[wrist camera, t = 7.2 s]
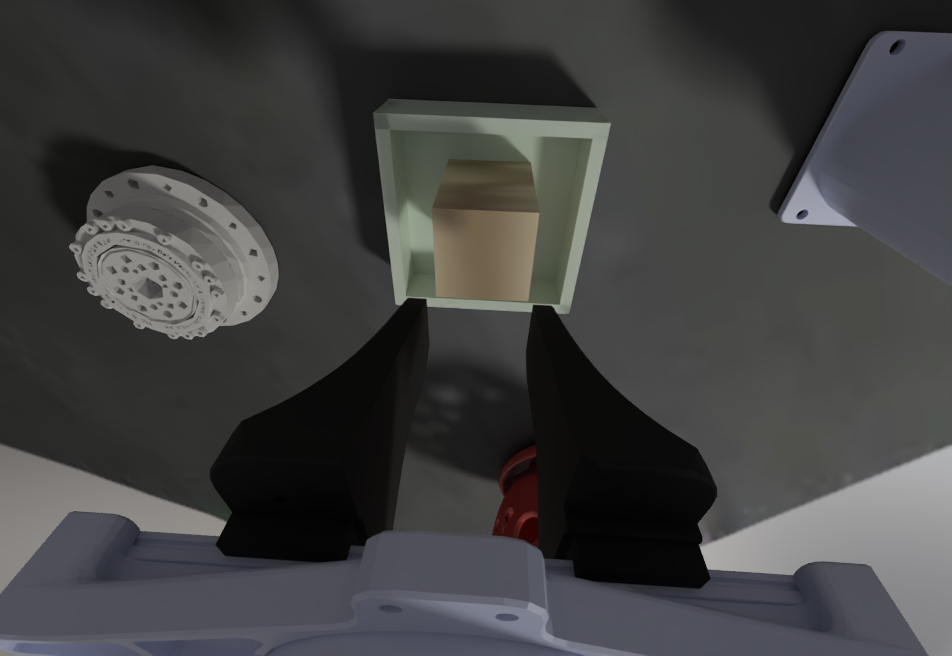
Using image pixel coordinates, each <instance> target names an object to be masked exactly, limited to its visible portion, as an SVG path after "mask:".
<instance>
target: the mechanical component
mask: <svg viewBox="0 0 952 656" xmlns="http://www.w3.org/2000/svg"><path fill="white" fill-rule="evenodd" d="M69 248H70V249H71V250H72V251H73V252H74V253H75V258H76V260H77V263H78V265H79V267H80V269H81V271H79V272H78V273H77V277H78V278H79V279H80V280H82V281H85V282H87V281H88V283H89V284H90V286H89V287H88V288H87V291H88V292H89V293H90V294H92V295H95V296H97V295H100V296H101V297H102V298H103V300H101V304H102V305H103V306H104V307H105V308H109V309H111V308H114V309H115V310H117V311H119V312H120V313H122V314H123V315H125V316H127V317H128V318H130V319H131V320H133V321H135V322H134V323H133V324H134V325H135V326H136V327H137V328H139V329H143V328H145V327H148V328H150V329H153V330H156V331H159V332H163V333H166V334H167V335H168V336H169V337H170V338H172V339H177V338H178V337H179V336H183V337H184V338H186V339H191V340H192V338H193V337H194V336H199V337H205V336H206V334H207V333H209V332H213V331H214V330H215V329H216V328H217V327H218V326H228V325H236V324H239V323H242V322H245V321H248V320H250V319H252V318H253V317H254V316H256V315H257V314H258V313H260V312H261V311H262V310H263V309H264V308H265V306H266V305H267V304H268V302H269V301H270V299H271V297H272V295H273V294H274V292H275V290H276V288H277V282H278V276H279V274H278V264H277V259H276V256H275V253H274V250H273V247H272V245H271V244H270V242H269V240H268V238H267V237H266V235H265V233H264V232H263V230H262V228H261V226H260V225H259V224H258V223H257V222H256V221H255V220H254V218H253V217H252V216H251V215H250V214H249V213H248V212H247V211H246V210H245V209H244V207H243V206H242V205H240V204H239V203H238V202H237V201H235V200H234V199H233V198H232V197H230V196H229V195H228V194H227V193H225V192H224V191H222V190H221V189H219V188H217V187H216V186H214V185H212V184H211V183H209V182H207V181H206V180H203V179H201V178H199V177H196V176H194V175H191V174H189V173H186V172H184V171H180V170H175V169H169V168H164V167H159V166H154V165H152V166H146V167H140V168H135V169H129V170H126V171H123V172H121V173H119V174H117V175H115V176H112V177H110V178H108V179H106V180H104V181H102V182H101V184H100V185H99V186H98V187H97V188H96V189H95V190H94V191H93V192H92V194H91V196H90V199H89V202H88V205H87V223H86V224H85V225H84V226H82V227H81V228H80V229H79V231H78V232H77V234H76V242H74V243H72V244H70V246H69Z"/></svg>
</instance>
